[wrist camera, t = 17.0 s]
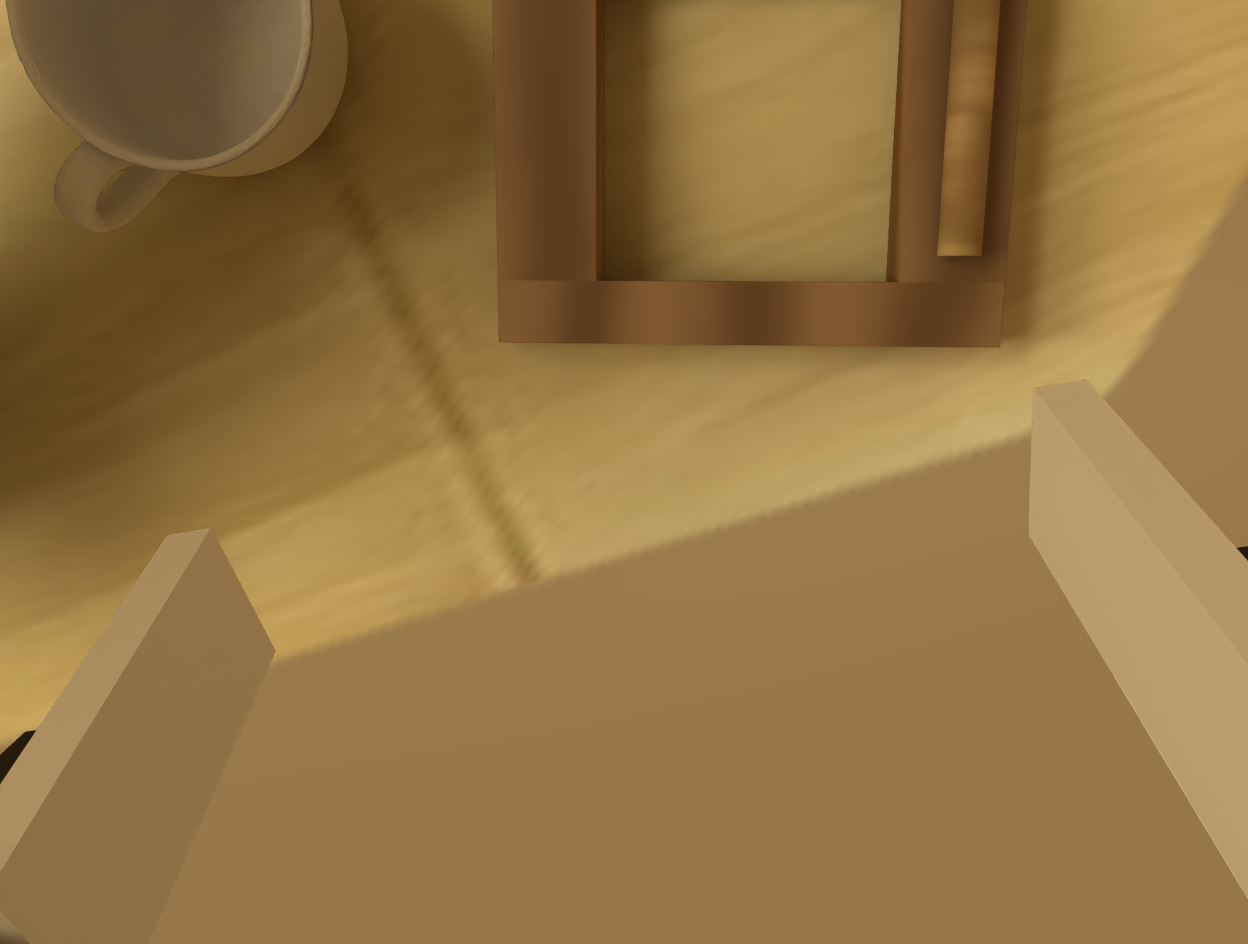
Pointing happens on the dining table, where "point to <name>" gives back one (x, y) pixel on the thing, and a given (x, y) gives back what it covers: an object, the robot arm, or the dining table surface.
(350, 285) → the dining table surface
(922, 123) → the frame
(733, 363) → the dining table surface
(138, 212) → the teacup
